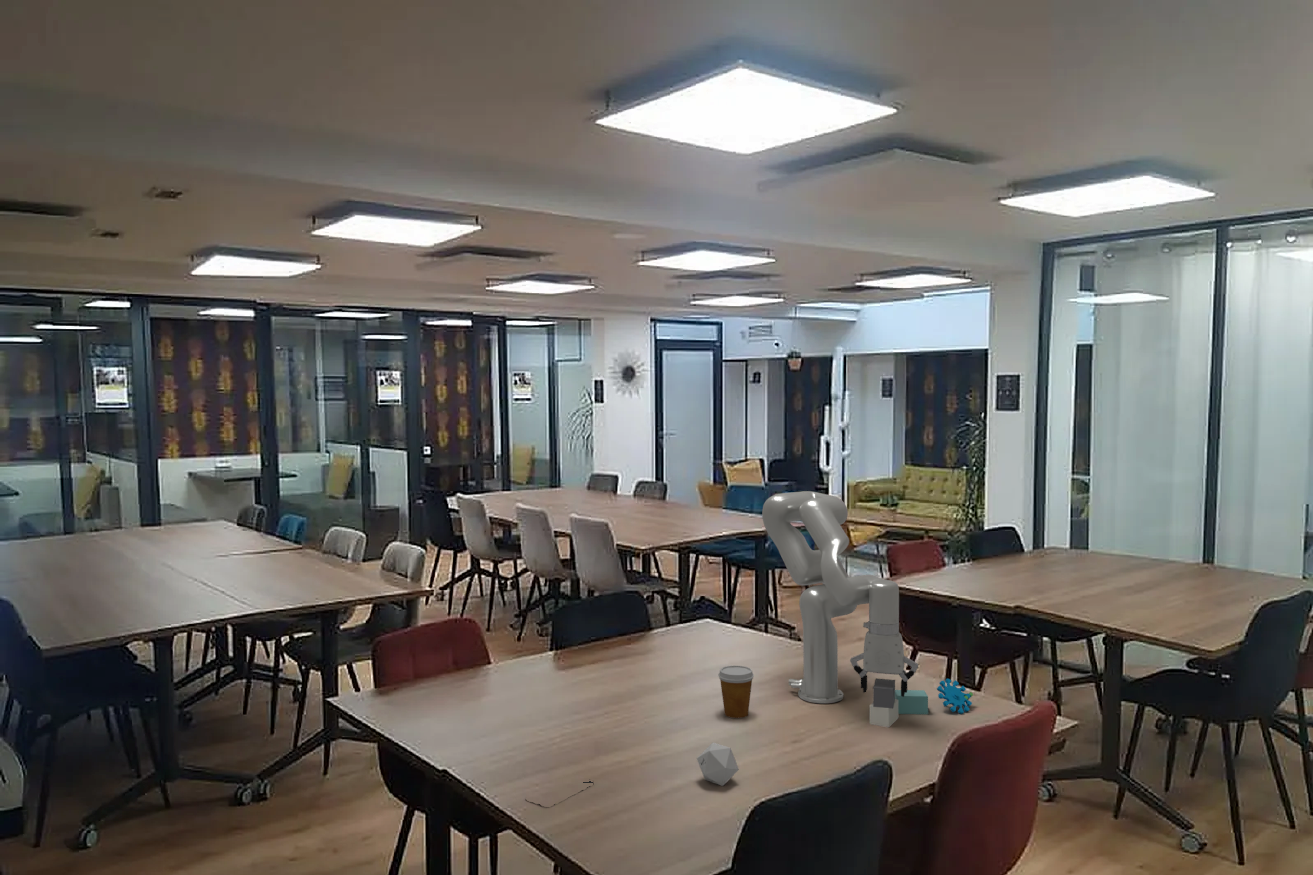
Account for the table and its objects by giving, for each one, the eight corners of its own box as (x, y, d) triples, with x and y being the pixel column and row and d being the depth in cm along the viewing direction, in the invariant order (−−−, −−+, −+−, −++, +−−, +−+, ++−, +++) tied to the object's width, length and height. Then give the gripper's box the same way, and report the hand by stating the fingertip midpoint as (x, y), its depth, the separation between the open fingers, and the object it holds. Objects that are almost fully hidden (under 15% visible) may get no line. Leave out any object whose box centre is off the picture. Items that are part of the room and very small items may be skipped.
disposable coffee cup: (758, 711, 245) (758, 667, 244) (747, 722, 236) (746, 677, 236) (725, 706, 249) (725, 663, 248) (713, 717, 240) (712, 673, 240)
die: (703, 773, 206) (686, 748, 202) (735, 753, 207) (719, 728, 202) (715, 800, 199) (698, 774, 195) (749, 779, 200) (732, 753, 195)
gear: (947, 711, 238) (934, 677, 245) (936, 721, 242) (923, 687, 249) (982, 711, 242) (967, 677, 248) (969, 722, 246) (956, 688, 252)
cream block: (888, 728, 232) (888, 708, 231) (869, 724, 234) (869, 705, 234) (898, 718, 238) (898, 699, 238) (879, 715, 241) (879, 696, 241)
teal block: (897, 714, 241) (897, 695, 241) (894, 707, 246) (894, 689, 246) (928, 714, 241) (928, 696, 240) (924, 708, 246) (924, 690, 245)
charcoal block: (893, 708, 232) (893, 689, 231) (873, 706, 233) (873, 687, 233) (895, 698, 239) (895, 679, 239) (875, 696, 241) (875, 678, 240)
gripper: (848, 629, 235) (848, 694, 235) (917, 634, 229) (917, 701, 230) (852, 622, 242) (852, 685, 242) (919, 627, 236) (919, 692, 237)
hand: (883, 693), depth 236 cm, fingers open, 9 cm apart
